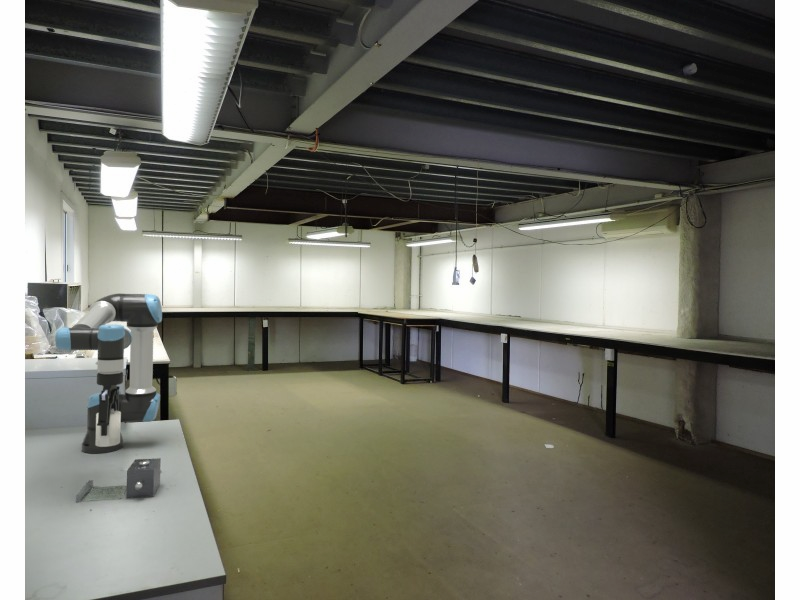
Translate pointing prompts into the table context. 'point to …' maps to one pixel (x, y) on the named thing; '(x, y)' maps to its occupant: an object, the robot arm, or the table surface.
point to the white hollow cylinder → (111, 428)
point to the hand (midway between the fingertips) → (108, 441)
